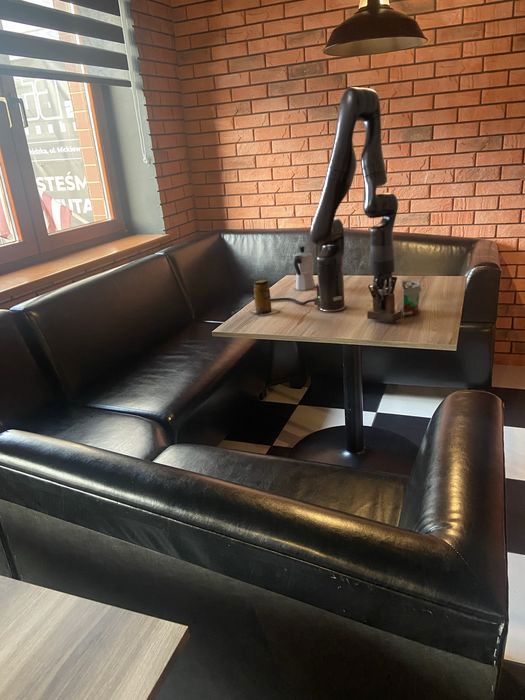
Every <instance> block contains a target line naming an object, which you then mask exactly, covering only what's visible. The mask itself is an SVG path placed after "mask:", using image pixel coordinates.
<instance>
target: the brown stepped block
mask: <svg viewBox="0 0 525 700" xmlns="http://www.w3.org/2000/svg"><path fill="white" fill-rule="evenodd" d="M380 296H381V293H380ZM395 297H396V295H395V293H393V294H392V293H385V294H384V303H385V310H384V311H379V310H378V303H377V300H376V299H373V298H372V308H371V309H368V310H367V311H366V314H367V315H366V317H367V320H374V321H379V322H386V323H390V324H391V323H392V324H393V323H397V321H400V320H401V319H402V310H397V309H396V306H395V305H396V303H395V301H396V300H395Z"/></svg>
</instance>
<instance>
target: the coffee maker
mask: <svg viewBox="0 0 525 700" xmlns="http://www.w3.org/2000/svg"><path fill="white" fill-rule="evenodd" d="M292 257H293V266H294V269H295V272H296V274H295V287H294V289H295V290H296V291H310V290H314V289H315V288H316V283H315V279H314V276H313V272H312V270H313V253H311V252H306V251H305V246H304V245H303V246H299V252H298V253H295V254H293V255H292Z"/></svg>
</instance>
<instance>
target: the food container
mask: <svg viewBox="0 0 525 700" xmlns="http://www.w3.org/2000/svg"><path fill="white" fill-rule="evenodd" d="M421 292H422V286H421V284H420V282H419V281H414V280H402V281H401V299H402V300H401V301H402V305H401V306H402V314H403V317H404V318H405V317H407V318H408V317H413V316H416V315H417V314H418V313H419V304H420V302H419V301H420V293H421Z"/></svg>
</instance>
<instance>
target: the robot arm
mask: <svg viewBox="0 0 525 700" xmlns="http://www.w3.org/2000/svg"><path fill="white" fill-rule="evenodd" d="M380 102H381V101H380V97H379V95H378V93H377V91H375V89H372V88H366V87H353V86H352V87H349V88H347V89H346V90H345V91H344V92H343V94H342V96H341V99H340V102H339V107H338V113H337V119H336V126H335V133H334V139H333V144H332V148H331V153H330V157H329V160H328V165H327V169H326V172H325V177H324V182H323V186H322V190H321V194H320V198H319V201H318V205H317V208H316V211H315V214H314V216H313V220H312V223H311V226H310V230H309V231H310V233H309V234H310V235H309V236H310V239H311V242H312V243H313V244H314V245H315V246H316V247H322V249H321V251H320V252H319V253H318V254H317V255H316V269H317V270H316V271H317V283H316V284H315V288H316V297H314V298H311V299H308V300H305V301H299V300H297V299H295V298H292V297H277V298H276V297H275V298H270V299H271V302H278V301H291V302H294V303H296V304H298V305H300V306H301V305H303V306H304V305H306V304H308V303H313V304H314V306H315V305H316V306H317V309H318V310H320V311H321V312H324V313H335V312H340V311H343V310H345V309H346V302H345V301H346V299H345V283H344V265H343V263H344V261H343V258H344V255H345V228H344V224H343V222H342V221H341V219H339V217H337V216H336V214H337V211H338V209H339V207H340V205H341V204H342V202H343V201H344V199H345V197H346V196H347V194H348V193H349V191H350V189H351V187H352V185H353V182H354V179H355V175H356V170H357V165H358V163H357V156H356V151H355V148H354V140H353V139H354V131H355V127H356V123H357V122H362V124H363V128H364V134H365V136H364V143H363V147H362V151H361V156H360V168H361V173H362V178H363V179H362V180H363V187H364V189H363V199H362V200H363V201H362V202H363V203H362V210H363V213H364V214H365V216H366V217H367V218H368V219H378V218H381V220H380V221H379V223H377V224H374V225H373V226H371V228H370V229H369V239H370V242H369V243H370V246H369V247H370V249H369V261H370V263H369V264H370V273H371V274H372V275H373V279H372V281H373V282H372V283H371V284H368V286H367V288H368V291H369V292H370V295H371V297H372V300H373V299H376V300H377V303H378V310H379V311H384V310H385V303H384V294H385V293H392V294H395V293H394V292H395V290H396V289H395V288H396V285H397V281H398V277H397V276H393V273H394V272H395V248H394V247H395V246H394V233H393V232H394V227H395V223H396V219H397V214H398V209H399V201H398V197H397V195H395V194H394V192H383V193H377V189H378V188H380V187H383V186H385V185H386V184H387V183H388V176H387V170H386V166H385V165H386V164H385V160H384V154H383V146H382V145H383V143H382V118H381V115H382V114H381V103H380ZM380 293H381V296H380ZM252 300H255V298H254V296H253V297H252Z"/></svg>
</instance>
